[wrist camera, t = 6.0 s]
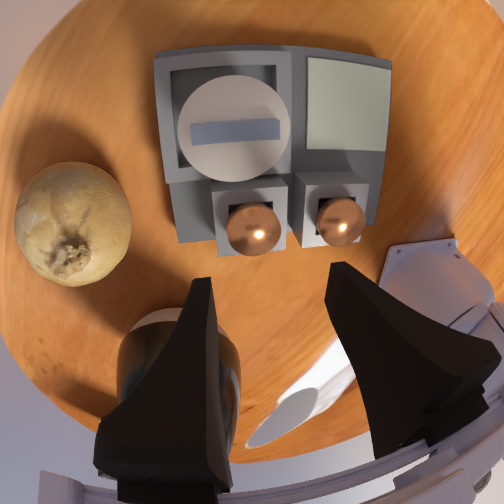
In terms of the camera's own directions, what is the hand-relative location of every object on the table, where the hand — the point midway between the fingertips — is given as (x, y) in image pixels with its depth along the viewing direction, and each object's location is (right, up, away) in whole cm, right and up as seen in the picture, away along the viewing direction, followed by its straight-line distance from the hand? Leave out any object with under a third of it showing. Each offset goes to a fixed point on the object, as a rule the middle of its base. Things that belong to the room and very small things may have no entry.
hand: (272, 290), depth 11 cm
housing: (+1, +9, +6) cm, 10 cm away
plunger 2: (+4, +4, +6) cm, 9 cm away
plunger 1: (-1, +4, +6) cm, 7 cm away
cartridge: (-2, +9, +3) cm, 10 cm away
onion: (-12, +5, +6) cm, 15 cm away
